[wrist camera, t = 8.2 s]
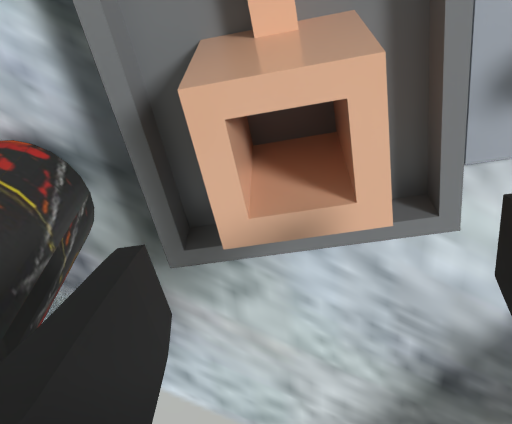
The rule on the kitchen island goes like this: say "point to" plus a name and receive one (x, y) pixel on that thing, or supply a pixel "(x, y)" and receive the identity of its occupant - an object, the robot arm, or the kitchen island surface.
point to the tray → (285, 111)
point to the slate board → (490, 83)
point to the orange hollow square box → (294, 150)
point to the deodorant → (36, 235)
